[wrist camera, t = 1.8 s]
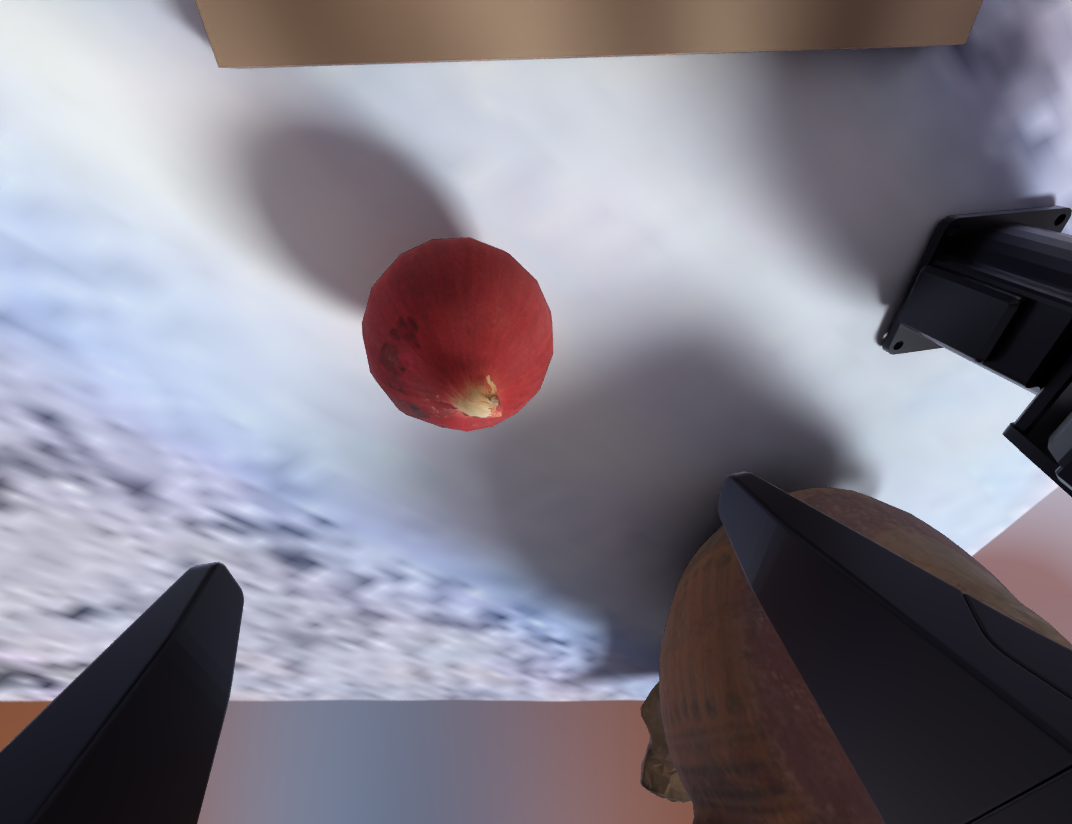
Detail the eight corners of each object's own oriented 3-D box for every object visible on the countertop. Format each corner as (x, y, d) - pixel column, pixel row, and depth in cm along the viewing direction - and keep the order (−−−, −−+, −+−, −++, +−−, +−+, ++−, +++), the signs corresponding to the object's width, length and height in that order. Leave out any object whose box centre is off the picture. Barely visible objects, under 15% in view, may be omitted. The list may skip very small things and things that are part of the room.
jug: (736, 383, 23) (554, 625, 43) (1029, 1044, 9) (549, 951, 28) (1056, 471, 26) (749, 658, 46) (1666, 1063, 12) (835, 967, 31)
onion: (426, 382, 20) (429, 528, 13) (338, 260, 16) (285, 379, 10) (551, 320, 19) (616, 442, 13) (487, 181, 16) (532, 252, 9)
